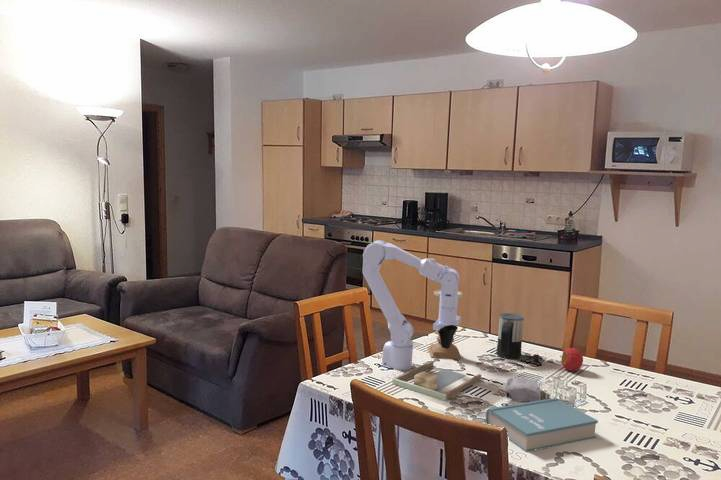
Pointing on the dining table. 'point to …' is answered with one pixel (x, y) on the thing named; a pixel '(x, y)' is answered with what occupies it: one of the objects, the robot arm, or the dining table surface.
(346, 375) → the dining table surface
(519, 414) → the book
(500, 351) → the milk frother
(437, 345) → the candle holder
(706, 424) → the dining table surface
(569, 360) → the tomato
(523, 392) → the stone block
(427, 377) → the maple block
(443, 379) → the box
